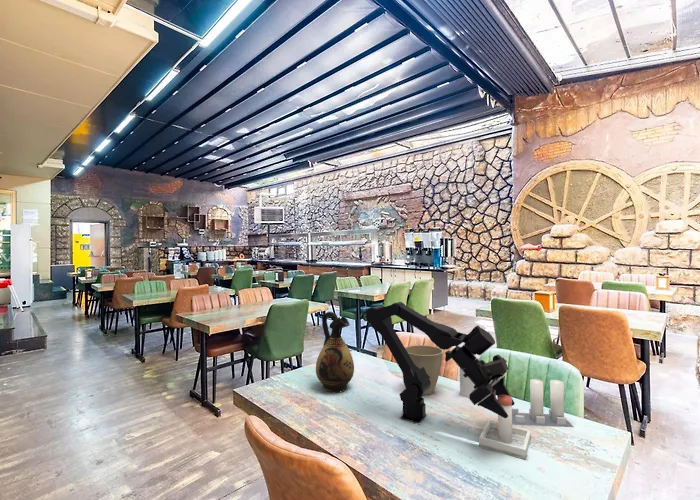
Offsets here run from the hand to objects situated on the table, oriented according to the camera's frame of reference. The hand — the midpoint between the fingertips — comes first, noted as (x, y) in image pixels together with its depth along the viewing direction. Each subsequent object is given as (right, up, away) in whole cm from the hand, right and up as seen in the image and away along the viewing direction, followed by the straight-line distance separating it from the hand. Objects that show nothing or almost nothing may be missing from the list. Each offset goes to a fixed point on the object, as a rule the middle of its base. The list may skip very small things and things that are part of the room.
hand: (510, 410), depth 98 cm
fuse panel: (+13, -9, +12) cm, 20 cm away
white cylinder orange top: (-1, -9, +1) cm, 9 cm away
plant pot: (-16, -10, +38) cm, 43 cm away
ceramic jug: (-51, -10, +43) cm, 68 cm away
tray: (-1, -9, +1) cm, 9 cm away
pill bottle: (0, -10, +32) cm, 34 cm away
